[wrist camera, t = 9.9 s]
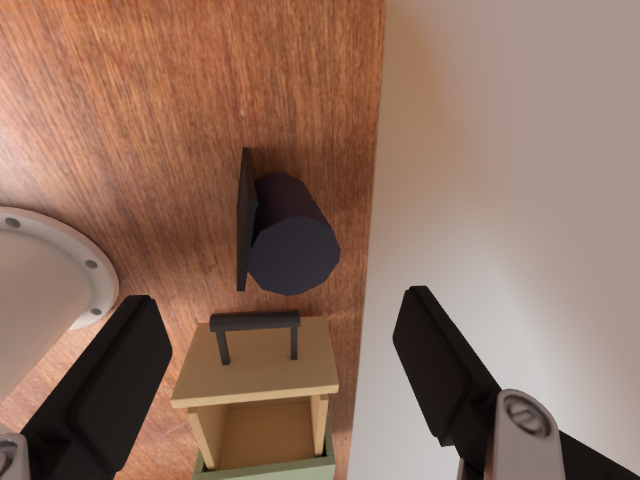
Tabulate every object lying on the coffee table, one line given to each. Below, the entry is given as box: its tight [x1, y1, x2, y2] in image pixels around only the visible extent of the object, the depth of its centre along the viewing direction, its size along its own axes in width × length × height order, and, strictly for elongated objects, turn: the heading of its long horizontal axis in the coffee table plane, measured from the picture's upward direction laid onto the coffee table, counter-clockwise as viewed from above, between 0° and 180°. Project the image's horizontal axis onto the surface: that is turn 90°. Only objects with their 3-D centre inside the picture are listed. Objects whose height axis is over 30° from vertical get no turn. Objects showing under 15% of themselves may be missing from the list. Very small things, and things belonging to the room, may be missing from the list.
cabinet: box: [192, 409, 336, 480], centre depth 35 cm, size 17×15×10 cm
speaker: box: [237, 148, 341, 296], centre depth 18 cm, size 8×6×10 cm
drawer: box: [170, 309, 339, 472], centre depth 27 cm, size 21×13×8 cm, turn 177°
